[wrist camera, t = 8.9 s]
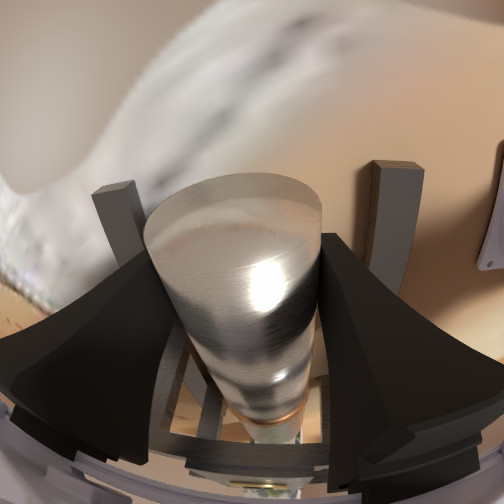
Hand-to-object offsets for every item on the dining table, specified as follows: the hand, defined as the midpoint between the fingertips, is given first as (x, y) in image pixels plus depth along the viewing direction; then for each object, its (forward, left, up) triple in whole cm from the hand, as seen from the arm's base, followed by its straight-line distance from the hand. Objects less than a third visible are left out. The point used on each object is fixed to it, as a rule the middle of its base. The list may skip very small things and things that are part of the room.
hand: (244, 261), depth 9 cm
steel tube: (0, +8, 0) cm, 8 cm away
